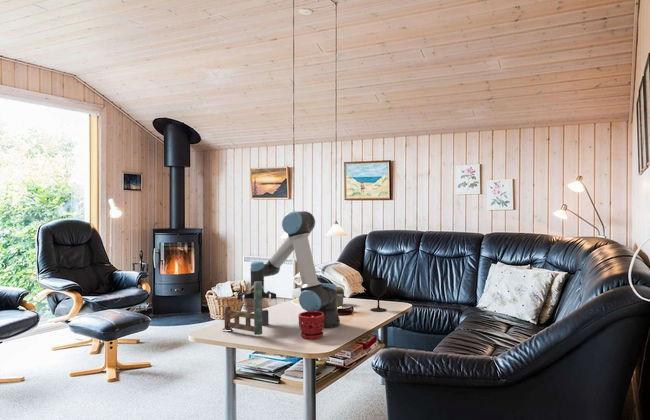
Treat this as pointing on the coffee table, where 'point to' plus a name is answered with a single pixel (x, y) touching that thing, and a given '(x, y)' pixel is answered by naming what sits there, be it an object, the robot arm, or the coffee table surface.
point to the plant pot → (311, 324)
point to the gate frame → (264, 319)
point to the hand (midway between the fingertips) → (256, 299)
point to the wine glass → (378, 291)
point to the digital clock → (339, 300)
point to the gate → (247, 314)
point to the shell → (340, 291)
